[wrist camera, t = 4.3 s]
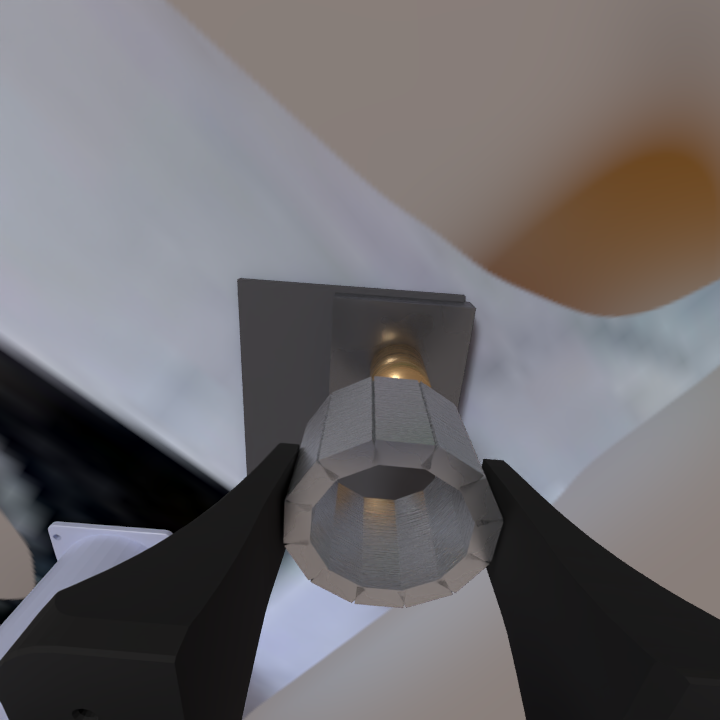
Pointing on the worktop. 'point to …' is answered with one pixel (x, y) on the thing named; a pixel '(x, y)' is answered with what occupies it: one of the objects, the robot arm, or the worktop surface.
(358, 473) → the mat
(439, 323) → the doorknob
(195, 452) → the worktop surface
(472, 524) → the ring
